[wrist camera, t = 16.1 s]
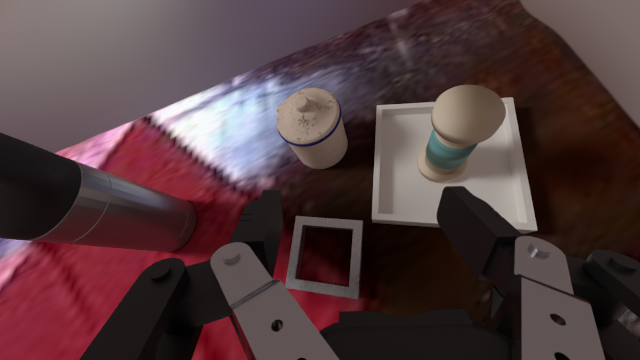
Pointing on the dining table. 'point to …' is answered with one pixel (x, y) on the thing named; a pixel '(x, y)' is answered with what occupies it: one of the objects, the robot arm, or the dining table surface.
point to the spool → (459, 130)
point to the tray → (424, 195)
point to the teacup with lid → (313, 127)
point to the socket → (298, 248)
